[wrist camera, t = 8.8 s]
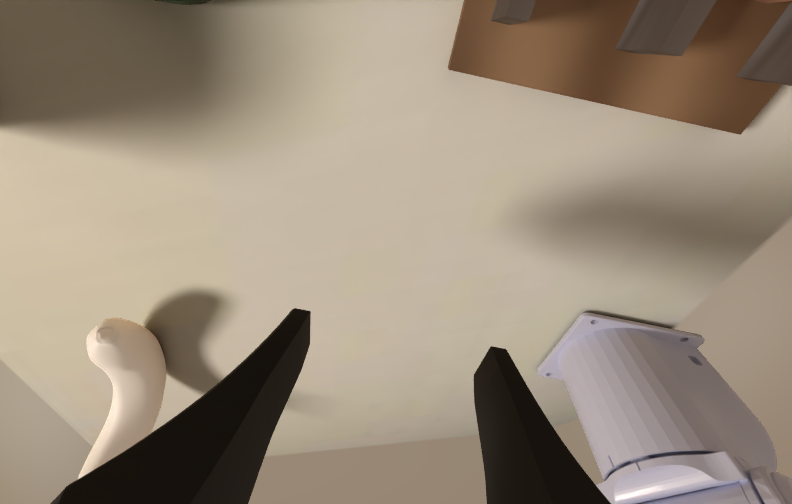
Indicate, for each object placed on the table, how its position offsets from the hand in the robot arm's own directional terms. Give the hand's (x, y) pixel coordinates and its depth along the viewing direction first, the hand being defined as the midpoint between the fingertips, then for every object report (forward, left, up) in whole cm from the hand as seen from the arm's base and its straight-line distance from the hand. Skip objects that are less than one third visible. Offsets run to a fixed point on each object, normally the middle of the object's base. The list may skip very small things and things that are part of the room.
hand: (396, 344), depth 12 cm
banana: (+22, +20, -10) cm, 31 cm away
